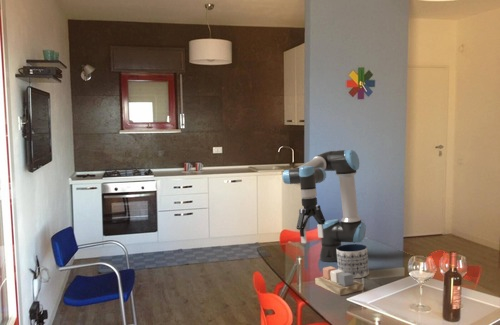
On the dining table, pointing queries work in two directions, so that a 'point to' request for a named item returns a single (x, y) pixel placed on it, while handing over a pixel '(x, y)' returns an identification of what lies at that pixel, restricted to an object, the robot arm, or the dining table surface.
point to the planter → (353, 259)
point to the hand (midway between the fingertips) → (312, 240)
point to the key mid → (335, 275)
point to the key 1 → (328, 272)
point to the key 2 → (346, 279)
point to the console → (338, 286)
